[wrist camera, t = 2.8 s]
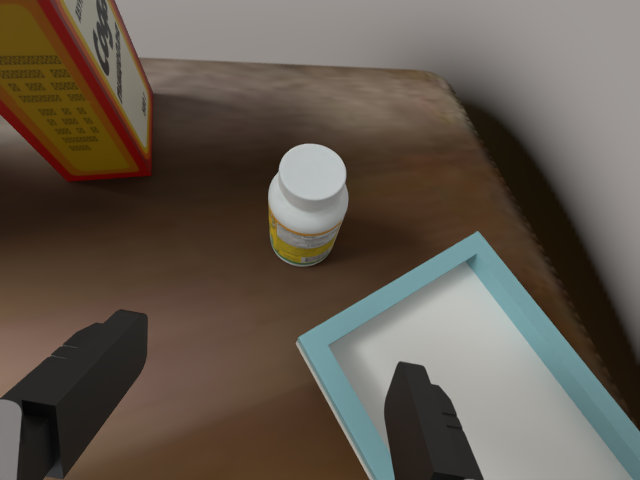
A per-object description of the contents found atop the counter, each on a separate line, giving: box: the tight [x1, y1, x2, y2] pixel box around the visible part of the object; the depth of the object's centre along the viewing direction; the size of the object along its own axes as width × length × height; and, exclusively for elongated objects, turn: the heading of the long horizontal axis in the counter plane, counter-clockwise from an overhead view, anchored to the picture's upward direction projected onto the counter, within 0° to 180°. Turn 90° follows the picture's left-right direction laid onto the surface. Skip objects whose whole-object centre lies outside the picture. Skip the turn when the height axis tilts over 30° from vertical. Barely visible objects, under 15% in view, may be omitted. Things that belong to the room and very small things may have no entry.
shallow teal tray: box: [296, 231, 640, 480], centre depth 21 cm, size 20×14×6 cm
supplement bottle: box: [268, 144, 348, 266], centre depth 24 cm, size 5×5×10 cm
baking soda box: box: [0, 0, 153, 182], centre depth 23 cm, size 10×6×16 cm
